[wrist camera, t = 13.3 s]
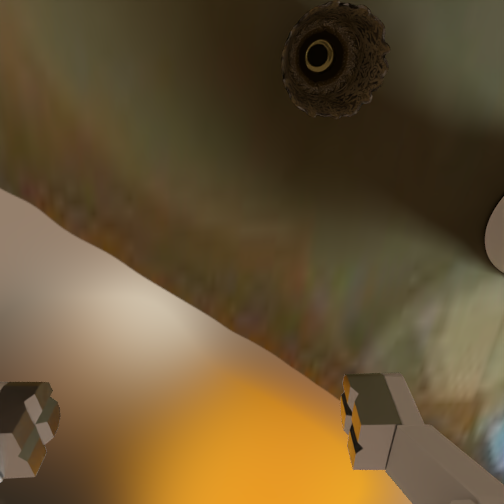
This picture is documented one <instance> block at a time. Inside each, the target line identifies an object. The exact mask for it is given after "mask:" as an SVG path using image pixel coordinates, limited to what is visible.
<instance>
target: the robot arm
mask: <svg viewBox="0 0 504 504" xmlns="http://www.w3.org/2000/svg"><path fill="white" fill-rule="evenodd" d="M485 248H486V252H487V255H488V257H489V259H490V261H491V262H492V264H493V265H494V266H495V267H496V268H497V269H498V270H500V271H501V272H503V273H504V197H503V198H502V199H501V200H500V202H499V203H498V205H497V206H496V208H495V209H494V211H493V213H492V215H491V217H490V219H489V222H488V225H487V228H486V233H485ZM343 388H344V393H343V394H342V395H341V400H340V412H341V420H342V425H343V429H344V431H345V432H346V433H347V434H348V435H349V437H348V444H347V447H348V451H349V455H350V459H351V463H352V467H353V469H354V470H386V473H387V474H388V475H389V476H390V477H391V479H392V480H393V481H394V482H395V483H396V484H397V486H398V487H399V488H400V489H401V490H402V492H403V493H404V494H405V495H406V496H407V498H408V499H409V500H410V501H411V502H412V503H413V504H504V485H503V484H502V483H501V482H499V481H498V480H497V479H496V478H495V477H493V476H492V475H491V474H490V473H489V472H487V471H486V470H485V469H484V468H482V467H481V466H480V465H479V464H478V463H476V462H475V461H474V460H473V459H471V458H470V457H469V456H468V455H467V454H465V453H464V452H463V451H462V450H461V449H459V448H458V447H457V446H456V445H454V444H453V443H452V442H451V441H450V440H448V439H447V438H446V437H445V436H443V435H442V434H441V433H440V432H439V431H437V430H436V429H435V428H434V427H433V426H431V425H425V424H424V422H423V420H422V418H421V415H420V413H419V411H418V409H417V406H416V404H415V402H414V400H413V397H412V395H411V393H410V391H409V388H408V386H407V384H406V382H405V379H404V377H403V375H402V374H401V373H381V374H380V373H369V374H345V375H344V377H343ZM52 391H53V390H52V388H51V386H50V384H49V383H48V382H0V483H1V482H2V481H3V480H2V479H4V478H23V477H36V474H37V472H38V470H39V468H40V466H41V464H42V462H43V460H44V457H45V455H46V453H47V452H46V448H45V444H46V443H47V442H49V441H50V440H51V439H52V438H53V437H54V436H55V434H56V431H57V429H58V426H59V420H60V407H59V405H58V402H57V401H55V400H54V399H52V398H51V397H50V395H51V393H52Z"/></svg>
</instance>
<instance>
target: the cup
mask: <svg viewBox="0 0 504 504" xmlns="http://www.w3.org/2000/svg"><path fill="white" fill-rule="evenodd" d="M370 12H371V11H370V10H369V8H368V7H366V6H364V5H359V6H355V5H351V4H350V3H340V2H339V0H336V1H331V2H328V3H326V4H323V5H319V6H317V7H314V8H313V9H311V10H310V11H309V12H307V13H306V14H305V15H304V16H303V17H302V18H301V19H300V20H299V22H298V23H297V24H296V25H295V26H294V27H293V28H292V30H291V32H290V34H289V37H288V39H287V41H286V43H285V46H284V48H283V52H282V59H281V69H282V75H283V83H284V87H285V89H286V90H287V92H288V94H289V96H290V99H291V100H292V102H293V103H294V104H295V106H296V107H298V108H299V109H301V110H302V111H304V112H306V113H307V115H309V116H311V117H316V115H320V116H323V117H327V116H329V117H331V118H334V119H340V118H341V116H348V117H350V116H353V115H355V114H356V113H357V112H358V111H359V109H360V107H361V105H362V104H364V103H365V104H367V103H370V102H371V100H372V98H373V96H372V91H376V90H377V89H378V88H379V87H380V86H382V84H383V78H384V77H383V76H384V75H385V74H386V73H387V71H388V62H387V60H386V59H385V55H386V54H387V53H389V52H390V47H389V45H388V44H387V43H386V42H385V39H384V36H385V27H384V24H383V23H382V22H381V21H380V20H379V19H378V18H377V17H376V16H374V15H373V14H371V13H370ZM315 45H322V46H324V47H325V48H326V50H327V59H326V61H325V62H324V63H323V64H322V65H320V66H314V65H312V64H311V63H310V61H309V59H308V54H309V51H310V49H311V48H312V47H313V46H315Z"/></svg>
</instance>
